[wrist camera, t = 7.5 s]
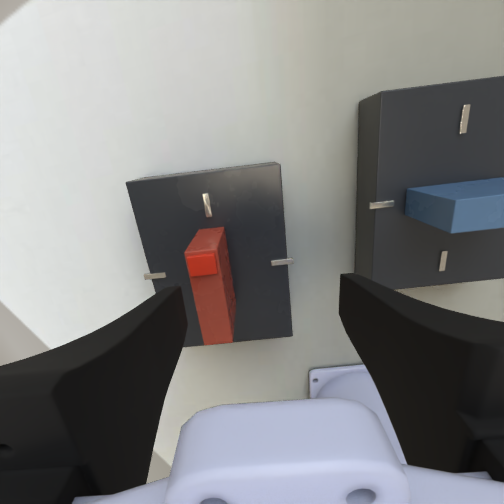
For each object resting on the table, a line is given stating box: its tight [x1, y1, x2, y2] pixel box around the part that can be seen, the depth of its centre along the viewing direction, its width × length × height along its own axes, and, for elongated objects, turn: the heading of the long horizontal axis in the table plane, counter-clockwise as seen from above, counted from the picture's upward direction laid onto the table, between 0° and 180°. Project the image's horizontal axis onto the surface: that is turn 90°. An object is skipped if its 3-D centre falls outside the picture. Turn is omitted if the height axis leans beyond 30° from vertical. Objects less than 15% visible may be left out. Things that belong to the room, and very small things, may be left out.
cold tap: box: [405, 177, 504, 234], centre depth 14 cm, size 6×2×4 cm, turn 97°
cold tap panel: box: [355, 76, 504, 290], centre depth 17 cm, size 12×10×3 cm
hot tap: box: [184, 227, 236, 345], centre depth 15 cm, size 6×2×4 cm, turn 6°
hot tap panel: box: [126, 162, 293, 347], centre depth 19 cm, size 12×10×3 cm
